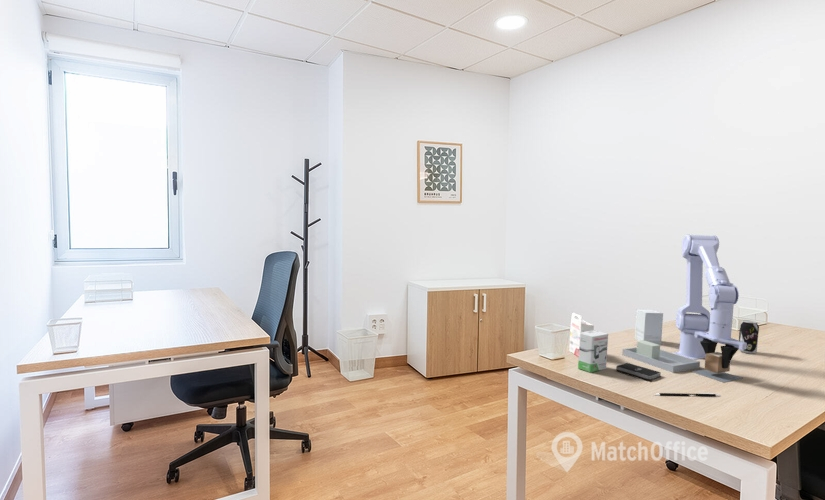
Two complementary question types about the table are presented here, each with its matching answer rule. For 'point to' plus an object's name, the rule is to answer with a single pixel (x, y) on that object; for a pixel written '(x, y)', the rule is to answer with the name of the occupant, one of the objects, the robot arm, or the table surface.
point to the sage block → (648, 349)
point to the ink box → (593, 351)
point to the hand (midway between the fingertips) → (717, 365)
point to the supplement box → (649, 326)
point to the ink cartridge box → (577, 332)
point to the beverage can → (749, 335)
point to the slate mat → (717, 375)
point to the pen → (687, 394)
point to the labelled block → (715, 363)
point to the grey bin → (664, 360)
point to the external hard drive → (638, 371)
